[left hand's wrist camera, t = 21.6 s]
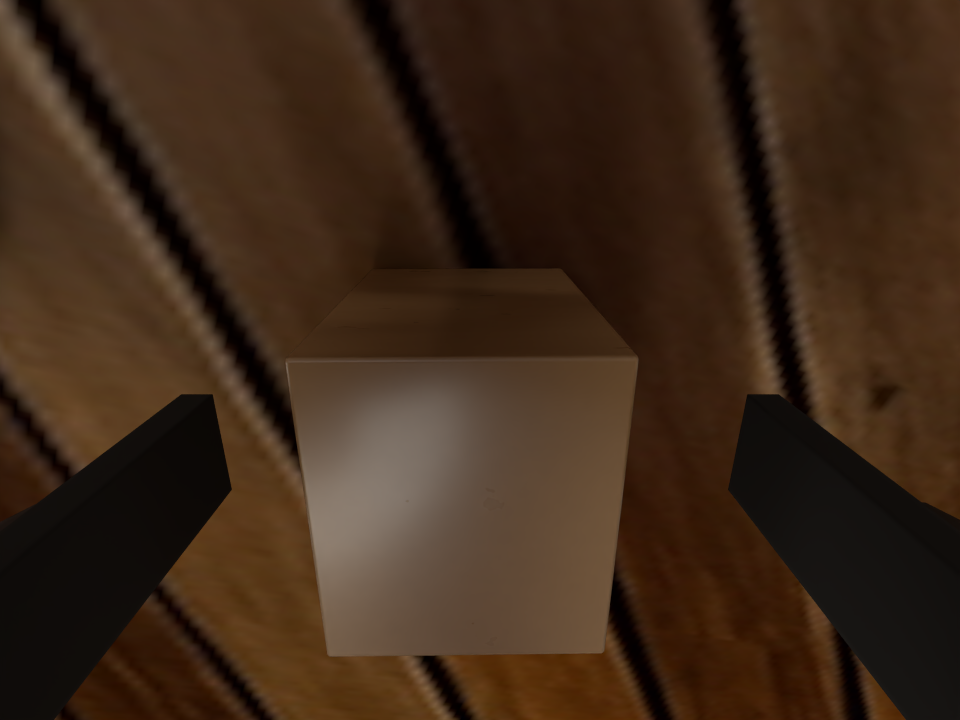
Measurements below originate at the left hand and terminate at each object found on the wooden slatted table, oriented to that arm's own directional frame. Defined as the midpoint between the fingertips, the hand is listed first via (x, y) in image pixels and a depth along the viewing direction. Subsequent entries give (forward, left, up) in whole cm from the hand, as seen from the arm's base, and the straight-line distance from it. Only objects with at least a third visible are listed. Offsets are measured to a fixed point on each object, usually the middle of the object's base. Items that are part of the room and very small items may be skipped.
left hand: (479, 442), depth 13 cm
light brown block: (0, 0, -5) cm, 5 cm away
